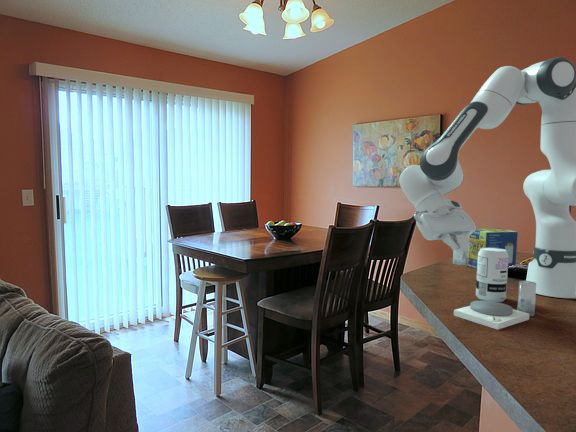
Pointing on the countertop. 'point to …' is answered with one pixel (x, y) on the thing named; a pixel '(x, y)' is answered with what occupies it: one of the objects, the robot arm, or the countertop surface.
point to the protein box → (492, 243)
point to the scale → (491, 314)
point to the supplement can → (492, 274)
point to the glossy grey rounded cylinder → (461, 249)
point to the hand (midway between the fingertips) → (463, 248)
